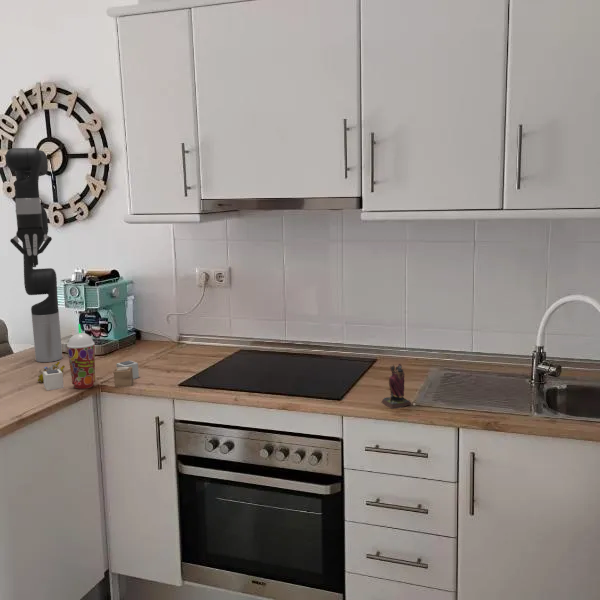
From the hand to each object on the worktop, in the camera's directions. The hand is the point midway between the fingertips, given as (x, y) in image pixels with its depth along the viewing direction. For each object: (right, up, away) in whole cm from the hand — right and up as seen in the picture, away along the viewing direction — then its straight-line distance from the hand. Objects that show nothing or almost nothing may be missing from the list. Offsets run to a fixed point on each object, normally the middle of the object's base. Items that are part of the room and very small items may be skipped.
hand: (33, 266), depth 224 cm
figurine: (+112, -40, -27) cm, 122 cm away
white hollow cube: (+8, -38, -4) cm, 39 cm away
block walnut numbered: (+30, -37, -2) cm, 48 cm away
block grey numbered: (+29, -36, +5) cm, 47 cm away
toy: (+3, -37, +8) cm, 38 cm away
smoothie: (+17, -38, -3) cm, 42 cm away
